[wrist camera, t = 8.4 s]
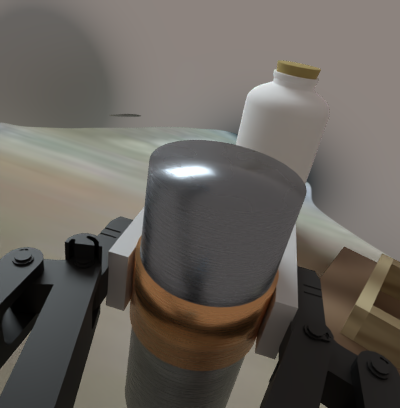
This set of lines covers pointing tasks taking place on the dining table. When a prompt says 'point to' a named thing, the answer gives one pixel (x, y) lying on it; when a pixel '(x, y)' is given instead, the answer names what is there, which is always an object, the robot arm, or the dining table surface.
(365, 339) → the socket
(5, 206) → the dining table surface
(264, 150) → the potion bottle
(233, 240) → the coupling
